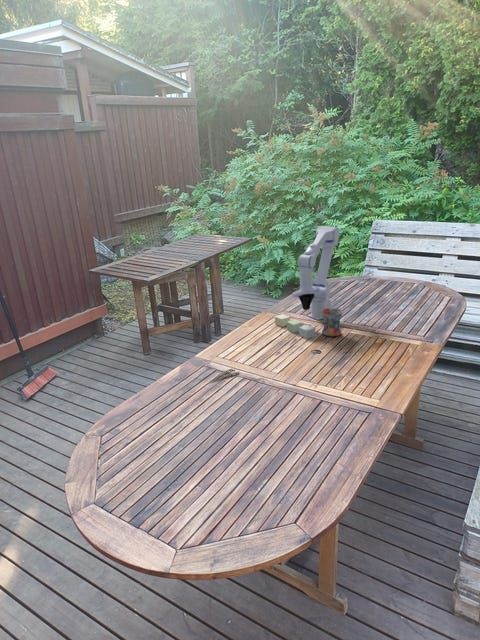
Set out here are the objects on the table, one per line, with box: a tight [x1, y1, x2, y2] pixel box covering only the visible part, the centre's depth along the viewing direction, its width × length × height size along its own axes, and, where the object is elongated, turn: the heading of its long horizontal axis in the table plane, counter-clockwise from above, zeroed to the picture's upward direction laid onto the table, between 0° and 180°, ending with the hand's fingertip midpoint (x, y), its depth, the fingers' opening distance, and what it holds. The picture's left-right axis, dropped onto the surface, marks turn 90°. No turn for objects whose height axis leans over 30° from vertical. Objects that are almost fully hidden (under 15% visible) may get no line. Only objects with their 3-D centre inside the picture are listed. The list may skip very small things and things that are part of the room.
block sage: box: [286, 318, 303, 333], centre depth 209 cm, size 5×5×4 cm
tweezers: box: [208, 368, 240, 385], centre depth 169 cm, size 17×5×2 cm, turn 130°
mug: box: [321, 307, 344, 337], centre depth 202 cm, size 12×9×11 cm
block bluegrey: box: [298, 324, 316, 340], centre depth 202 cm, size 5×5×4 cm
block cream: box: [274, 313, 291, 328], centre depth 216 cm, size 5×5×4 cm
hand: (306, 309), depth 210 cm, fingers closed
